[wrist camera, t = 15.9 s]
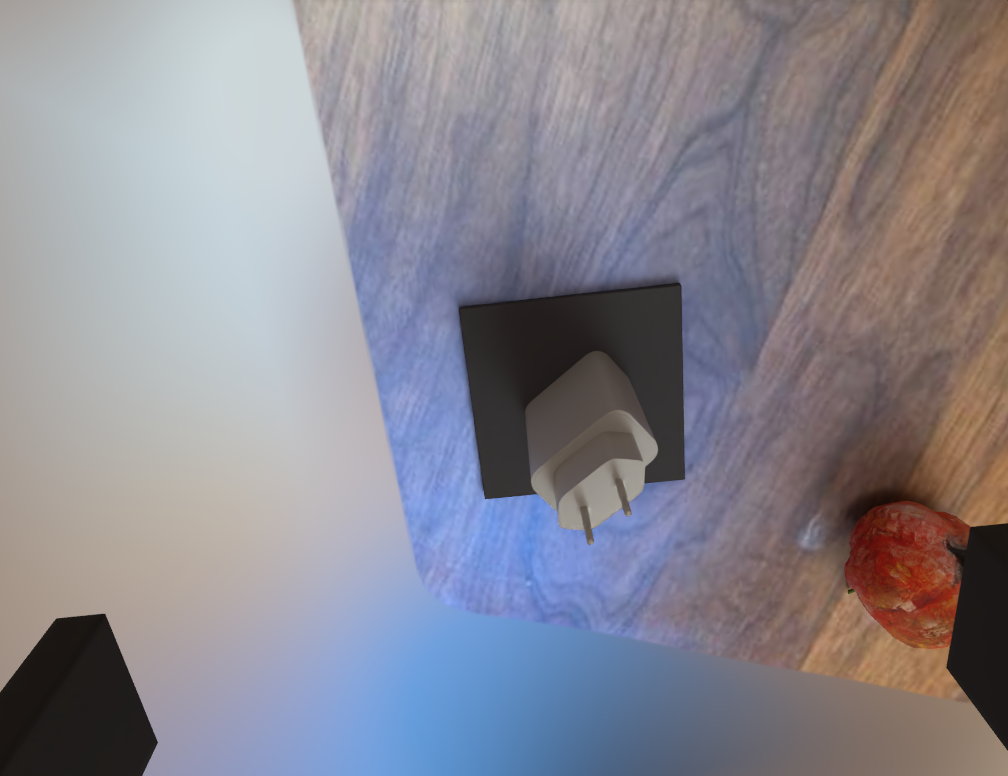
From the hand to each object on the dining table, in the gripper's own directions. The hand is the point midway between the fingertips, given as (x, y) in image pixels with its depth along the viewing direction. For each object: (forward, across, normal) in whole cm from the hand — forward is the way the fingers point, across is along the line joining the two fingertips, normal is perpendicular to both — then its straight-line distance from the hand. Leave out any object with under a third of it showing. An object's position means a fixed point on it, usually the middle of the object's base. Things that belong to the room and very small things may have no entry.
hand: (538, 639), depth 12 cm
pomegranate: (+27, +20, -20) cm, 39 cm away
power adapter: (+27, +3, -9) cm, 28 cm away
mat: (+27, +3, -9) cm, 28 cm away
